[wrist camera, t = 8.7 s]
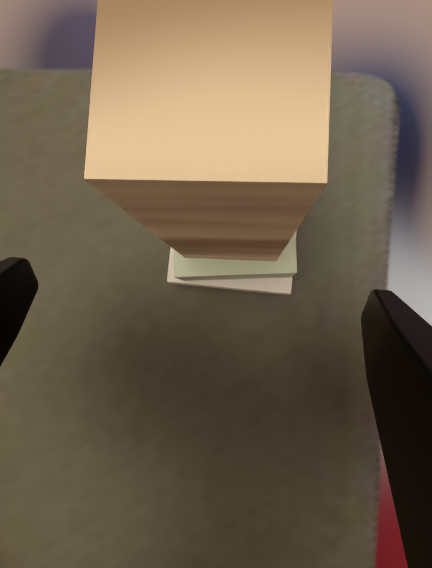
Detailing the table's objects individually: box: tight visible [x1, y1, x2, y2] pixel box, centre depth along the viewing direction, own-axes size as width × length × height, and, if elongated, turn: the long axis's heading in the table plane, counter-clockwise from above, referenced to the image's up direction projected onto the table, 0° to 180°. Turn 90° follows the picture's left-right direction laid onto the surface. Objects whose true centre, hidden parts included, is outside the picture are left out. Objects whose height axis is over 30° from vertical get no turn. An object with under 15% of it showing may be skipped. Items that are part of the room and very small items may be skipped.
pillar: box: [84, 0, 333, 261], centre depth 12 cm, size 4×4×10 cm
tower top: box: [174, 233, 297, 281], centre depth 18 cm, size 6×6×2 cm
